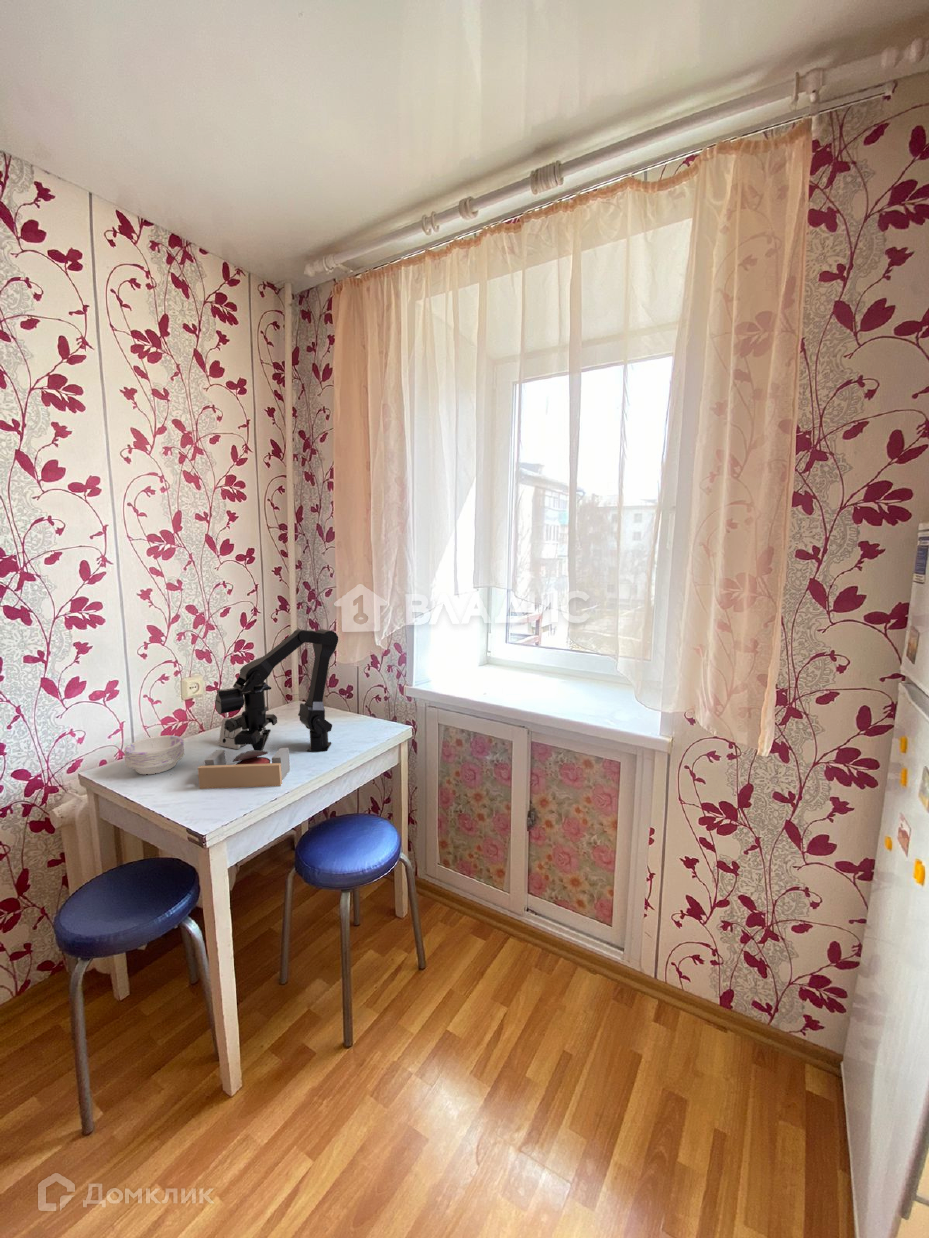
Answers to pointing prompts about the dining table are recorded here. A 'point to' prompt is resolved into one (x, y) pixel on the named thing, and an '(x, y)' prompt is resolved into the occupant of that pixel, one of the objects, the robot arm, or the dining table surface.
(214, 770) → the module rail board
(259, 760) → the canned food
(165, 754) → the paper bowls
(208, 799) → the dining table surface
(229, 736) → the electrical switch
